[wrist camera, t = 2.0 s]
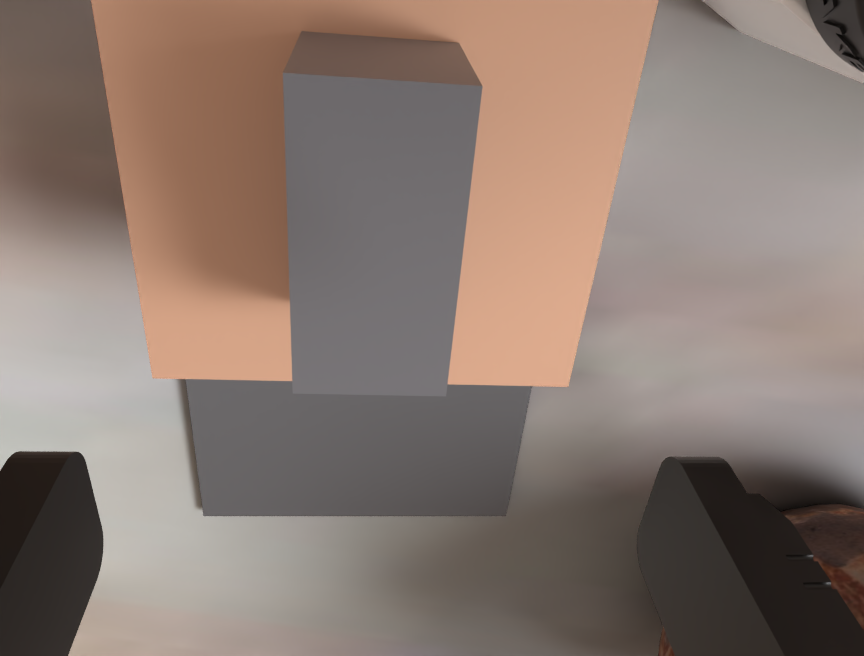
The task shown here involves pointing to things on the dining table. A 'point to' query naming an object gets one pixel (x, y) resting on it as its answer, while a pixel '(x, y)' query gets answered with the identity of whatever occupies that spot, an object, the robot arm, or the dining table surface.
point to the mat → (354, 450)
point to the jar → (804, 29)
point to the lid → (369, 183)
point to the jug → (828, 552)
